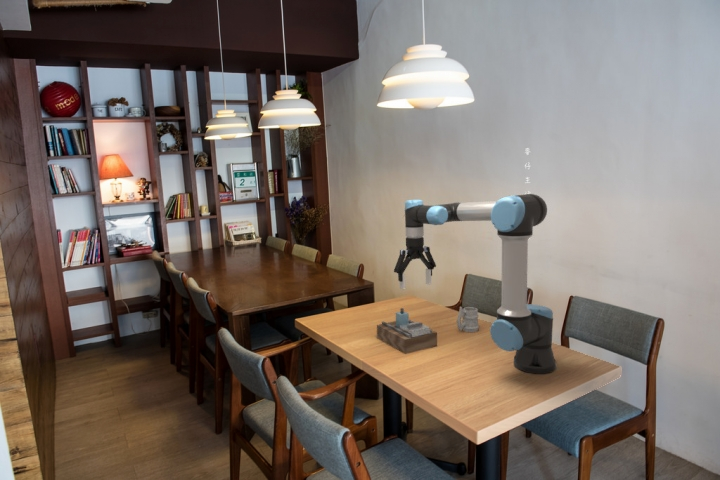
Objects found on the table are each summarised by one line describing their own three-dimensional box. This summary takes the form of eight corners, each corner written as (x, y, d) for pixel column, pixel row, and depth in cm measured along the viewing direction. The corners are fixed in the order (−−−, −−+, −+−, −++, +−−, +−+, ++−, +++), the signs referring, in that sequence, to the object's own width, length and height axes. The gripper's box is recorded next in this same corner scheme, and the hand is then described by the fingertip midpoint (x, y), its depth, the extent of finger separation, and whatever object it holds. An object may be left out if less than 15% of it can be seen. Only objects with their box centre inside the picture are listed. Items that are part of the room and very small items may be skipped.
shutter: (430, 333, 216) (430, 325, 216) (412, 337, 212) (412, 329, 211) (417, 327, 224) (417, 319, 223) (399, 331, 220) (399, 323, 219)
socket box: (436, 346, 219) (436, 329, 218) (405, 353, 211) (405, 336, 210) (407, 331, 238) (407, 316, 237) (377, 338, 230) (376, 322, 229)
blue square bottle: (408, 340, 226) (408, 309, 224) (401, 342, 224) (400, 310, 222) (403, 337, 230) (403, 306, 228) (396, 339, 228) (395, 308, 226)
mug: (482, 330, 237) (482, 304, 235) (463, 335, 230) (463, 309, 228) (470, 326, 243) (470, 301, 241) (451, 331, 237) (451, 305, 235)
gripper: (432, 233, 228) (433, 280, 231) (384, 239, 216) (386, 289, 219) (443, 234, 222) (444, 283, 225) (394, 240, 209) (396, 292, 212)
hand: (415, 286), depth 222 cm, fingers open, 13 cm apart
